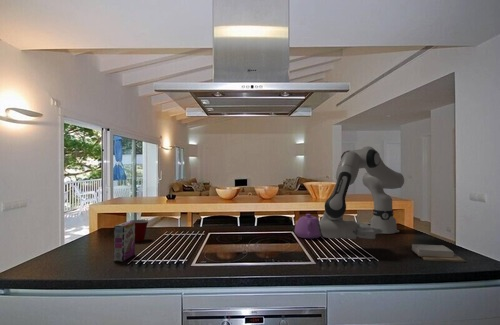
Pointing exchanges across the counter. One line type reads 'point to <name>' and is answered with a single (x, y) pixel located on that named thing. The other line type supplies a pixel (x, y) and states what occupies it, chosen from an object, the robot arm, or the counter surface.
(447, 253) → the tile
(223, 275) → the counter surface
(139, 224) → the plastic cup
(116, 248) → the candy bar box
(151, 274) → the counter surface
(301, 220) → the teapot
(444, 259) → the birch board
